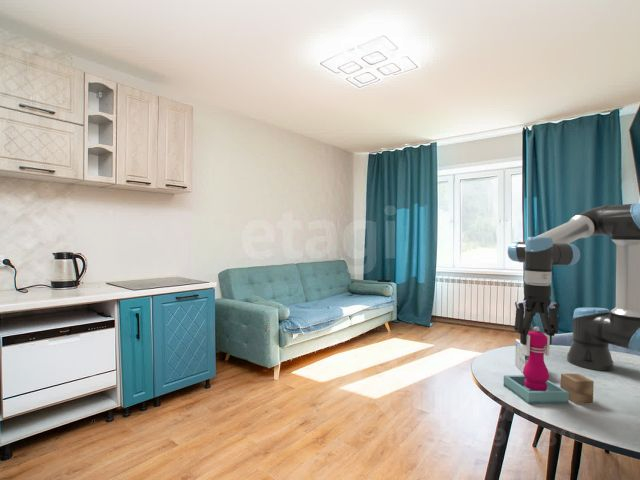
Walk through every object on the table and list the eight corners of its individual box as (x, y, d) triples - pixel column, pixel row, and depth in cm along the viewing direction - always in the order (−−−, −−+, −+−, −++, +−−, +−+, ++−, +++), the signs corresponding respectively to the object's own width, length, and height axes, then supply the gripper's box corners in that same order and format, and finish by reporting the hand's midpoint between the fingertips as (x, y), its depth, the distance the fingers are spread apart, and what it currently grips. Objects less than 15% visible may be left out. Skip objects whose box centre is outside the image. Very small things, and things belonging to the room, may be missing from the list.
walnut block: (577, 394, 114) (578, 373, 114) (592, 403, 108) (593, 381, 108) (560, 394, 113) (560, 373, 113) (574, 403, 107) (575, 381, 107)
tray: (539, 385, 120) (539, 375, 120) (568, 403, 107) (568, 392, 107) (503, 385, 120) (503, 375, 119) (528, 403, 107) (528, 392, 107)
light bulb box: (544, 377, 128) (545, 348, 128) (524, 375, 129) (525, 346, 129) (532, 366, 138) (533, 339, 138) (514, 365, 140) (514, 338, 139)
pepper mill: (519, 387, 113) (520, 326, 113) (526, 380, 118) (527, 322, 118) (545, 394, 108) (546, 330, 108) (551, 387, 113) (552, 326, 113)
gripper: (516, 285, 109) (514, 358, 109) (574, 285, 110) (572, 358, 110) (502, 282, 116) (500, 350, 116) (556, 282, 117) (554, 350, 118)
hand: (535, 354), depth 113 cm, fingers closed on pepper mill, 6 cm apart
